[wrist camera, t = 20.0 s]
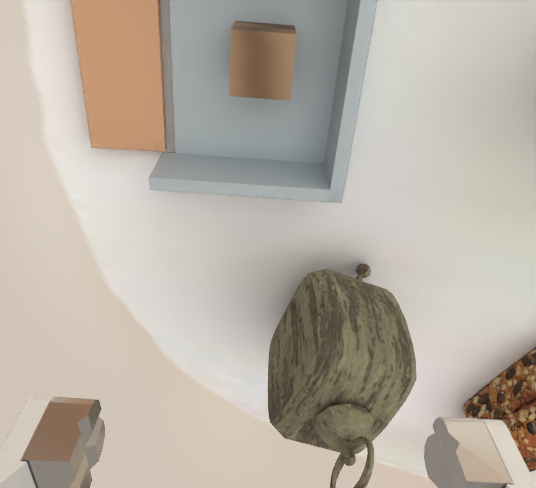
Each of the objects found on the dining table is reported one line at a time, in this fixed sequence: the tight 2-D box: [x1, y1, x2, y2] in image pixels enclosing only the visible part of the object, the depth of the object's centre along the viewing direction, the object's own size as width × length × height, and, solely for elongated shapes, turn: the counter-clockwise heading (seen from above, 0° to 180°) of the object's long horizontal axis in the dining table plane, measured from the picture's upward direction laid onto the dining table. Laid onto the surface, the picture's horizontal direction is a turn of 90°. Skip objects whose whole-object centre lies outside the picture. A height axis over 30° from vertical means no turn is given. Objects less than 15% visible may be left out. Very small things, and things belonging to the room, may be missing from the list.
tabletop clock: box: [268, 264, 416, 488], centre depth 46 cm, size 14×9×25 cm, turn 158°
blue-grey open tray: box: [149, 0, 378, 203], centre depth 38 cm, size 17×22×7 cm
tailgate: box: [71, 0, 167, 151], centre depth 40 cm, size 1×19×7 cm
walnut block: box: [229, 21, 297, 101], centre depth 38 cm, size 5×5×5 cm
